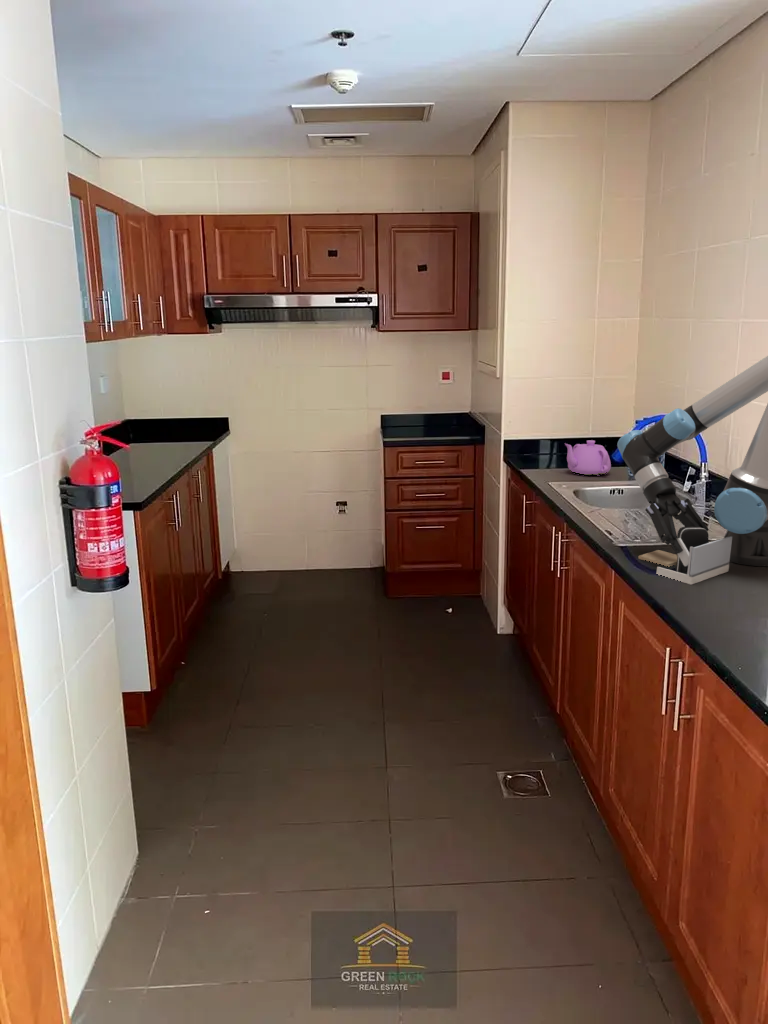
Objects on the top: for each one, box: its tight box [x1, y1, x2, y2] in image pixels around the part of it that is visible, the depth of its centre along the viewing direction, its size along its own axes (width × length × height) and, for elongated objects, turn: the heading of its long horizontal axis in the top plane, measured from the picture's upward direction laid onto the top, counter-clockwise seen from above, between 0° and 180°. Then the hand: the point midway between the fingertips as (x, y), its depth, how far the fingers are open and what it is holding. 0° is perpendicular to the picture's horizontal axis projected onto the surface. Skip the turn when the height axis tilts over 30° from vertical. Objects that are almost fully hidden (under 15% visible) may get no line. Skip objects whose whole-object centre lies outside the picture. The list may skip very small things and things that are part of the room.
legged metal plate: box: [655, 536, 732, 586], centre depth 191 cm, size 17×9×9 cm, turn 128°
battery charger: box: [675, 526, 710, 574], centre depth 192 cm, size 7×4×11 cm, turn 93°
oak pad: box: [638, 549, 678, 568], centre depth 203 cm, size 9×9×1 cm
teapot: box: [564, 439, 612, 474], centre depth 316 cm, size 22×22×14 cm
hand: (700, 561), depth 189 cm, fingers closed on battery charger, 7 cm apart
